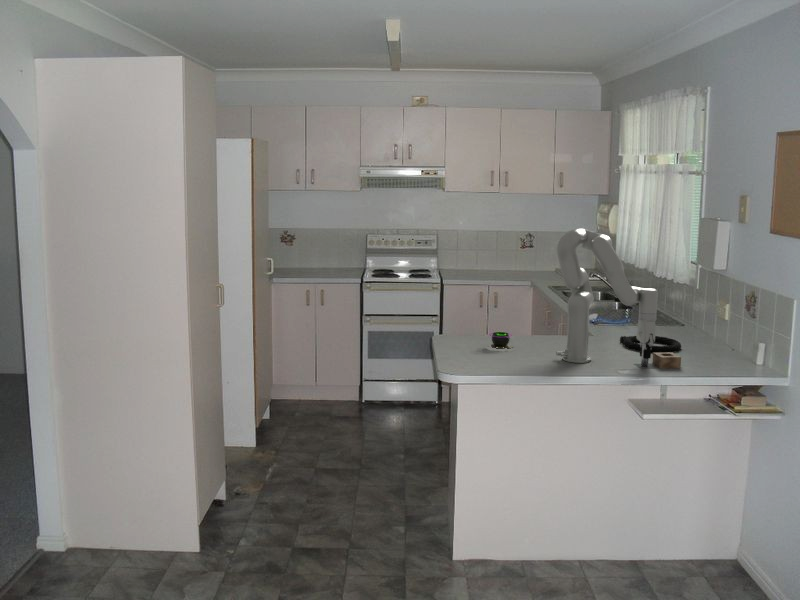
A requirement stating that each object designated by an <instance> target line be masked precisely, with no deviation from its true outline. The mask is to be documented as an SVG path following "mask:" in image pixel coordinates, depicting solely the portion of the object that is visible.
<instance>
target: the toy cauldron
mask: <svg viewBox="0 0 800 600" xmlns="http://www.w3.org/2000/svg"><path fill="white" fill-rule="evenodd" d="M504 327H505V326H502V327H500V328H501V329H505V328H504ZM500 328H499V327H497V329H500ZM492 331H495V328H493V329H492ZM506 331H509V329H508V328H506ZM506 331H503V330H502V331H499V330H497V331H495V332H491V333H489V336H491V342H492V344H490V345H491V347H492V348H496V347H498V348H496V349H505V348H507V349H511V347H510V346H511V345H509V344H510V340H511V337H513V334H512V333H508V332H506ZM503 347H504V348H503Z"/></svg>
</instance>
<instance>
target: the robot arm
mask: <svg viewBox="0 0 800 600" xmlns="http://www.w3.org/2000/svg"><path fill="white" fill-rule="evenodd" d="M578 248H581V249H586V250H589V251H591V252H592V254H593V255H594V257H595V259H596V261H598V263H599V265H600V267H601V268H602V270H603V272H604V273H605V276H606V278H607V281H608V282H609V284H610V287H611V289H612V290H613V292H614V293H615V295H616V297H617V298H618V300H619V301H620V302H621V303H622V304H623V306H624V305H625V306H627V307H631V306H633V305H635V304H637V303H639V305H638V322H637V327H636V335H635V336H636V338H637V340H639V341H640V342H639V344H640V351H639V357H641V358H642V343H645V347H644V351H643V358H644V359H645V358H649V359H651V357H652V353H651V349H652V346H654V342H655V336H656V321H657V318H658V317H657V313H658V300H659V299H658V298H659V297H658V296H659V292H658V290H657V289H656V288H649V287H648V288H646V287H645V288H644V287H638V286H632V285H631V284H630V282H629V279H628V278H627V275H626V273H625V269H624V263H623V262H622V260H621V259H620V257H619V255H618V254H617V252H616V251H615V249H614V247H613V241H612V238H610V236H609V235H606V234H603V233H599V232H595V231H592V230H589V229H585V228H573V229H571V230H567V232H565V233H564V234H563V235H562V236H561V237H560V238H559V240H558V242H557V246H556V253H557V258H558V263H559V266H560V267H559V268H560V271H561V275H562V280H563V283H564V286H565V287H566V288H567V289H569V290H570V292H571V295H570V297H569V298H568V299H567V331H566V332H567V333H566V334H567V335H566V337H567V338H566V348H564V350H563V351H555V354H556V356H557V357H559V356H560V357H562V359H563V361H565V362H568V363H575V364H576V363H578V364H584V363H585V364H586V363H589V362H591V361H592V358H591V357H590V356H589V355H588V354H589V353H588V351H589V335H590V334H589V332H590V308H591V307H592V306H593V304H594V302H595V298H594V293H593V289H592V286H591V285H592V284H591V282H590V277H589V274H588V272H587V271H586V270H585V268H582V267H581V265H580V261H579V257H578V255H577V249H578ZM648 341H649V342H648ZM647 344H649V345H647Z"/></svg>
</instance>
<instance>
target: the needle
mask: <svg viewBox="0 0 800 600" xmlns="http://www.w3.org/2000/svg"><path fill="white" fill-rule="evenodd" d="M648 342H649V341H648ZM647 345H649V344H647ZM644 347H645V343H642V357H641V361H640V362H641V363H640V364H641V366H642V367H648V364H649V359H650V358H645V359H644V358H643V351H644Z"/></svg>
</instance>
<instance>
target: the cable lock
mask: <svg viewBox="0 0 800 600" xmlns="http://www.w3.org/2000/svg"><path fill="white" fill-rule="evenodd" d="M619 342H620V343H621V344H623V346H624V347H625V348H628V349H629V350H632V351H636V352H640V341H639V340H637V338H636V335H632V336H631V335H629V336H626V335H621V336H620V337H619ZM654 343H655V344H662V345H653V346H652V349H651V354H653V353H663V352H673V353H675V352H674V351H676V352H679V351H680V350H681V348H682V344H681V342H679V341H678V340H676V339H673V338H669V337H666V336H657V335H655V342H654ZM654 343H653V344H654ZM666 344H667V345H666Z"/></svg>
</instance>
